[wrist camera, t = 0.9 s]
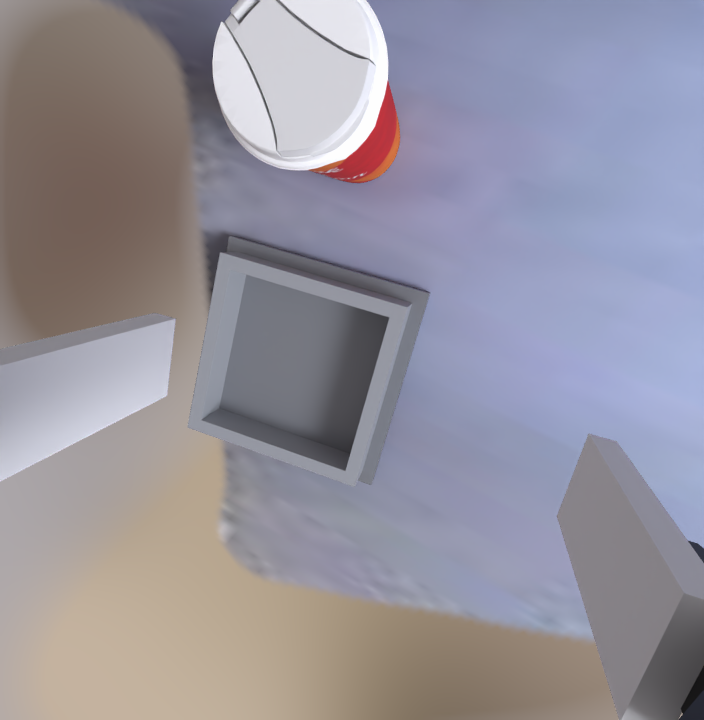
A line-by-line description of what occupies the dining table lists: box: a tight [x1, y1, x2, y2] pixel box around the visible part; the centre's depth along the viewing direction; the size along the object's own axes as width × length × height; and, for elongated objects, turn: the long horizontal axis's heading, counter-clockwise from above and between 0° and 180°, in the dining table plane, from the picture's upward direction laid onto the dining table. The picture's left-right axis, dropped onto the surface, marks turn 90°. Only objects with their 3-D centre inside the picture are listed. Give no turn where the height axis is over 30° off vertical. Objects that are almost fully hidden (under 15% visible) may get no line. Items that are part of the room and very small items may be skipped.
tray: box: [188, 236, 430, 487], centre depth 38 cm, size 16×16×4 cm
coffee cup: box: [212, 0, 400, 183], centre depth 28 cm, size 8×8×15 cm
